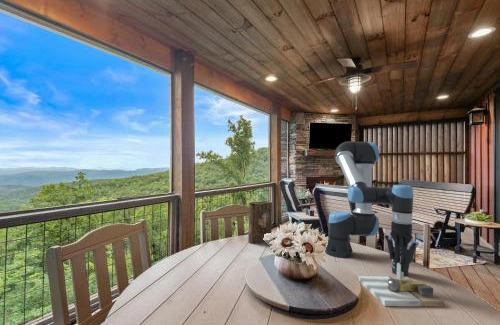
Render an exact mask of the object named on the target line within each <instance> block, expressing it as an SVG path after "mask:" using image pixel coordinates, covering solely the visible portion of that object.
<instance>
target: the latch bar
mask: <svg viewBox="0 0 500 325" xmlns="http://www.w3.org/2000/svg"><path fill="white" fill-rule="evenodd" d="M418 286H428V284H427V283H426V282H424V281H423V280H413V281H398V280H395V279H388V289H389V290H391V291H394V292H399V291H418Z"/></svg>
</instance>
